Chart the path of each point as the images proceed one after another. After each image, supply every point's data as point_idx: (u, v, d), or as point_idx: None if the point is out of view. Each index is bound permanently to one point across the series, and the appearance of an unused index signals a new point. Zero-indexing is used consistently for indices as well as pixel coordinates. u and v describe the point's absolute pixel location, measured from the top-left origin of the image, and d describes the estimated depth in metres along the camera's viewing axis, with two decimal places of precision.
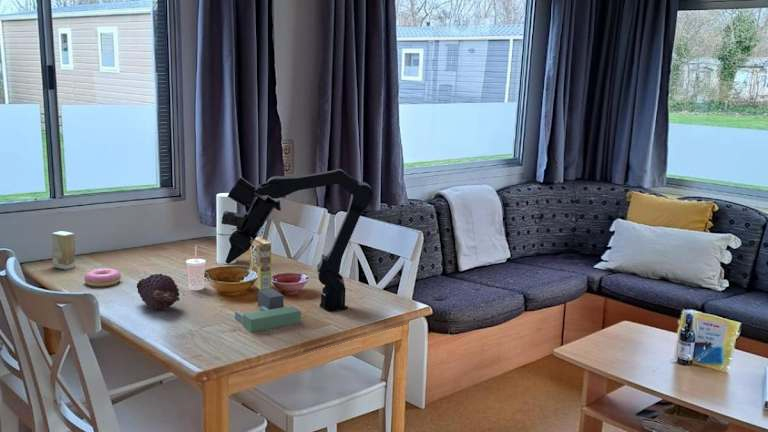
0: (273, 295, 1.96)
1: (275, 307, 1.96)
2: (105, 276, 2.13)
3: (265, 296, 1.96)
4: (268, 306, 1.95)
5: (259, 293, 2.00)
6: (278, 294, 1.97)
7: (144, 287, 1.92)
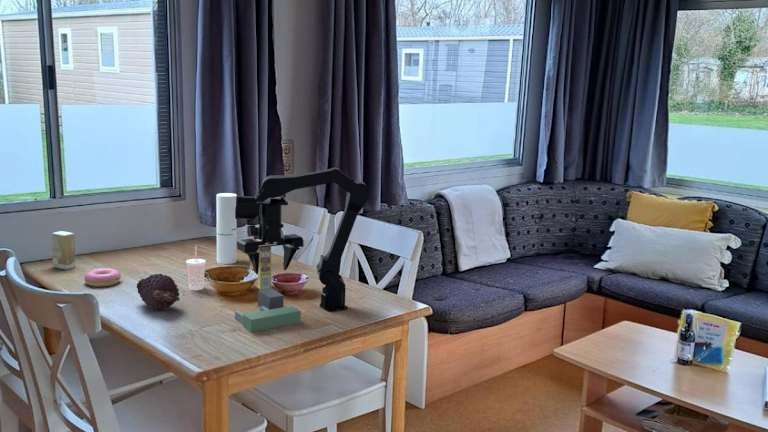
0: (273, 295, 1.96)
1: (275, 307, 1.96)
2: (105, 276, 2.13)
3: (265, 296, 1.96)
4: (268, 306, 1.95)
5: (259, 293, 2.00)
6: (278, 294, 1.97)
7: (144, 287, 1.92)
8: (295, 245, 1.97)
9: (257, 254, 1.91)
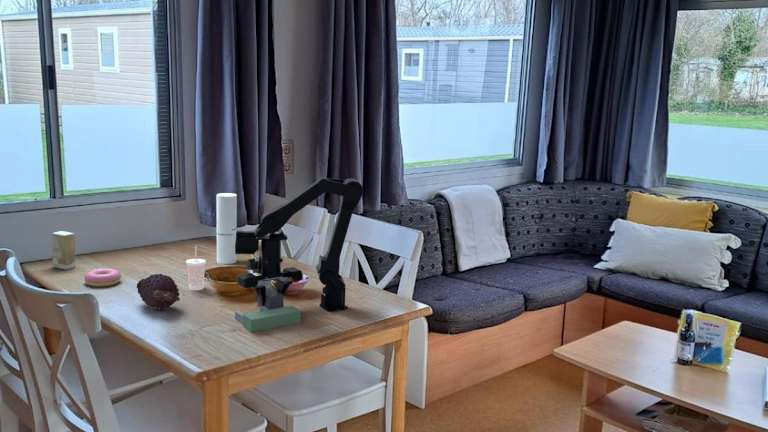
0: (273, 294, 1.96)
1: (275, 306, 1.96)
2: (105, 276, 2.13)
3: (265, 295, 1.96)
4: (268, 305, 1.95)
5: None
6: (278, 293, 1.97)
7: (144, 287, 1.92)
8: (294, 279, 1.99)
9: (264, 288, 1.94)
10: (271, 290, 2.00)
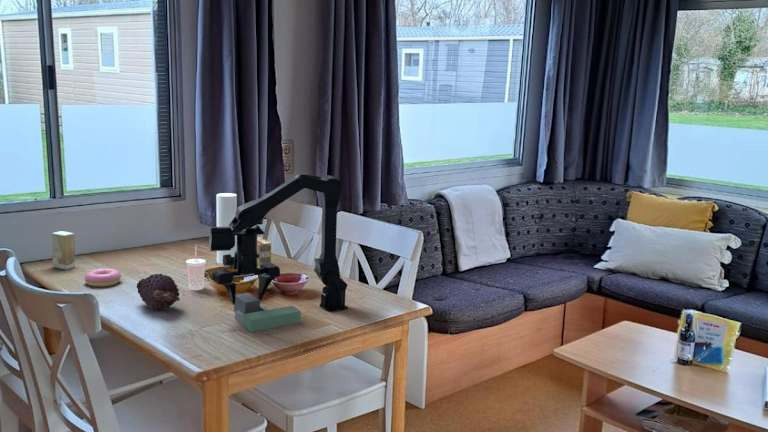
0: (249, 300, 1.91)
1: (251, 312, 1.91)
2: (105, 276, 2.13)
3: (241, 301, 1.91)
4: (244, 311, 1.90)
5: (235, 298, 1.94)
6: (254, 299, 1.92)
7: (144, 287, 1.92)
8: (271, 275, 1.93)
9: (233, 285, 1.87)
10: (248, 295, 1.95)
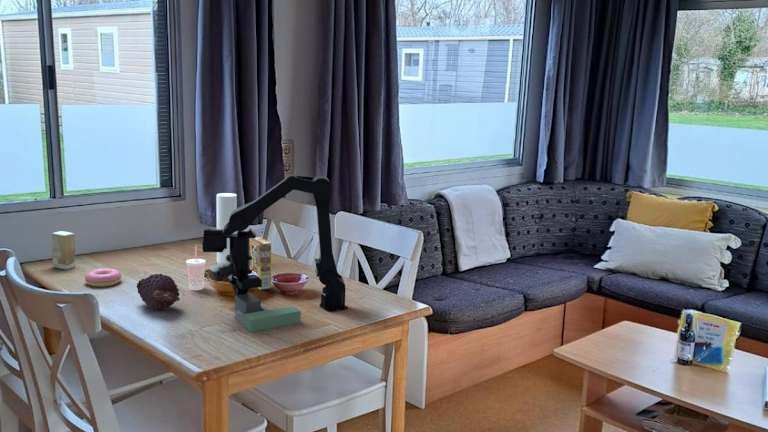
0: (250, 300, 1.90)
1: None
2: (106, 276, 2.13)
3: (242, 301, 1.90)
4: (245, 312, 1.89)
5: (236, 298, 1.94)
6: (255, 299, 1.91)
7: (144, 287, 1.92)
8: None
9: None
10: (249, 296, 1.94)
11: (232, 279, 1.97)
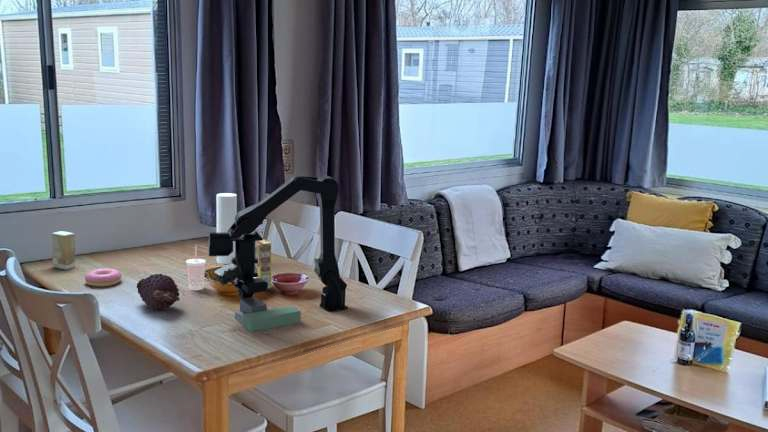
0: (256, 304, 1.87)
1: None
2: (106, 276, 2.13)
3: (247, 305, 1.87)
4: None
5: (241, 302, 1.90)
6: (261, 303, 1.88)
7: (144, 287, 1.92)
8: None
9: None
10: (254, 299, 1.91)
11: (237, 282, 1.93)
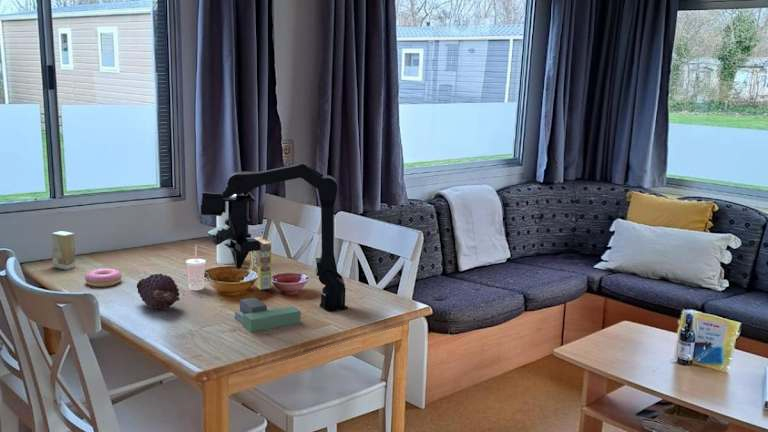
0: (256, 305, 1.87)
1: None
2: (106, 276, 2.13)
3: (247, 306, 1.87)
4: None
5: (241, 303, 1.91)
6: (261, 304, 1.88)
7: (144, 287, 1.92)
8: None
9: None
10: (254, 300, 1.91)
11: (231, 243, 1.95)
